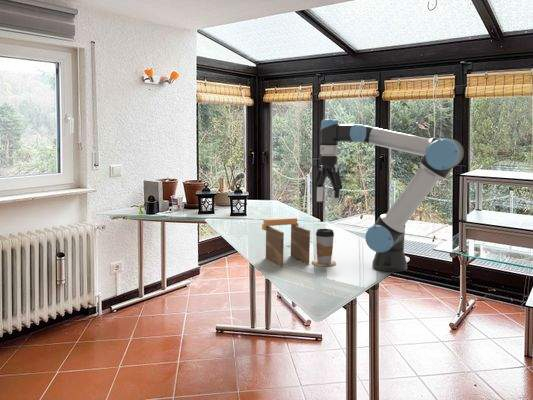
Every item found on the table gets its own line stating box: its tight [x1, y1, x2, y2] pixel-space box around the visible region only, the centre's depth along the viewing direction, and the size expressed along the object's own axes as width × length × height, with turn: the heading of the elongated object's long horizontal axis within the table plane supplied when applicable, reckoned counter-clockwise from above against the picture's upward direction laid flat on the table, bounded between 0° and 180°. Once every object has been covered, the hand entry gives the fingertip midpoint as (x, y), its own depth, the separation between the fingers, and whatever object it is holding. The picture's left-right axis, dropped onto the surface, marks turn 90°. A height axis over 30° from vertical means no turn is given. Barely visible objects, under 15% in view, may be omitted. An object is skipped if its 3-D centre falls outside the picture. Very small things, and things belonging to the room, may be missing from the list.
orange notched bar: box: [261, 216, 299, 231], centre depth 241 cm, size 18×3×5 cm, turn 113°
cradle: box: [265, 224, 311, 268], centre depth 235 cm, size 14×17×16 cm
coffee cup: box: [315, 228, 335, 264], centre depth 231 cm, size 8×8×15 cm
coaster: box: [311, 259, 337, 268], centre depth 232 cm, size 11×11×1 cm
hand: (327, 203), depth 223 cm, fingers open, 13 cm apart
